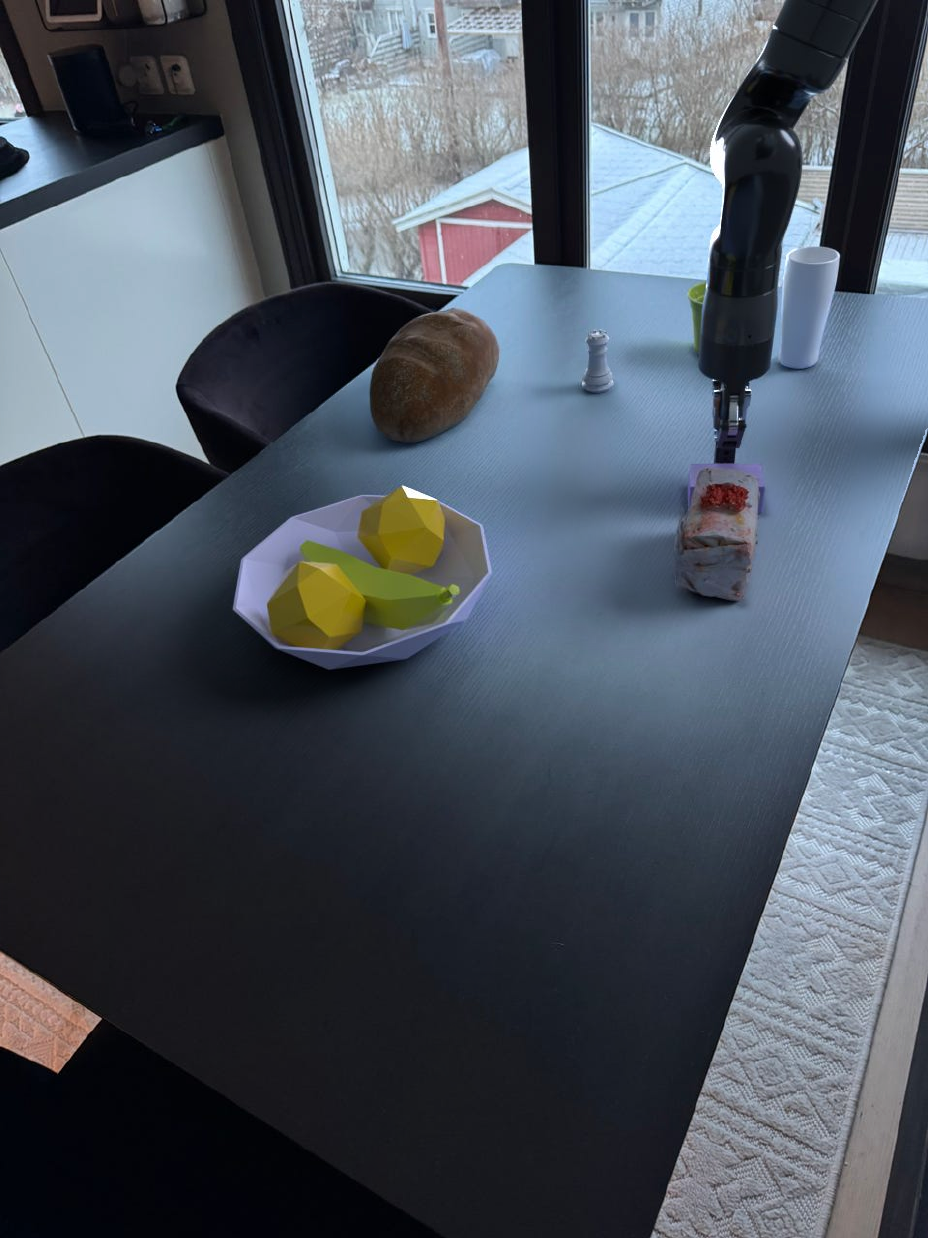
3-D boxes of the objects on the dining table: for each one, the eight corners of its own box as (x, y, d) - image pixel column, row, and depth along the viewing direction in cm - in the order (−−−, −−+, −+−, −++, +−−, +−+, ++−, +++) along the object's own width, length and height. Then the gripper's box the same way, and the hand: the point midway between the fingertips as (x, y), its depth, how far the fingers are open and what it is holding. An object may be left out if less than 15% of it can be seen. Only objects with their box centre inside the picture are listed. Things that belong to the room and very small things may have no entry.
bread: (517, 356, 137) (512, 283, 130) (457, 452, 117) (447, 372, 110) (423, 352, 142) (413, 281, 135) (350, 444, 122) (334, 366, 114)
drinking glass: (815, 375, 122) (832, 265, 113) (766, 368, 125) (779, 261, 116) (828, 355, 126) (846, 247, 117) (780, 349, 130) (794, 243, 120)
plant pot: (757, 341, 132) (764, 283, 127) (735, 367, 127) (741, 308, 121) (697, 333, 137) (701, 276, 131) (673, 358, 131) (676, 300, 125)
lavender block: (758, 489, 103) (761, 463, 101) (761, 513, 99) (765, 486, 97) (687, 488, 105) (689, 463, 102) (688, 512, 101) (690, 486, 99)
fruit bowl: (223, 584, 100) (193, 500, 93) (443, 512, 106) (431, 428, 99) (284, 751, 80) (251, 661, 72) (551, 650, 86) (546, 557, 79)
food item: (750, 611, 87) (762, 530, 81) (668, 603, 89) (673, 523, 83) (756, 531, 97) (766, 453, 90) (682, 526, 99) (687, 449, 93)
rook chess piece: (619, 384, 127) (620, 330, 121) (601, 396, 124) (600, 342, 119) (594, 376, 129) (593, 323, 124) (575, 389, 127) (574, 335, 122)
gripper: (781, 353, 87) (761, 500, 99) (769, 300, 97) (752, 440, 108) (702, 355, 89) (691, 500, 100) (698, 303, 98) (689, 440, 110)
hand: (723, 468), depth 104 cm, fingers closed
